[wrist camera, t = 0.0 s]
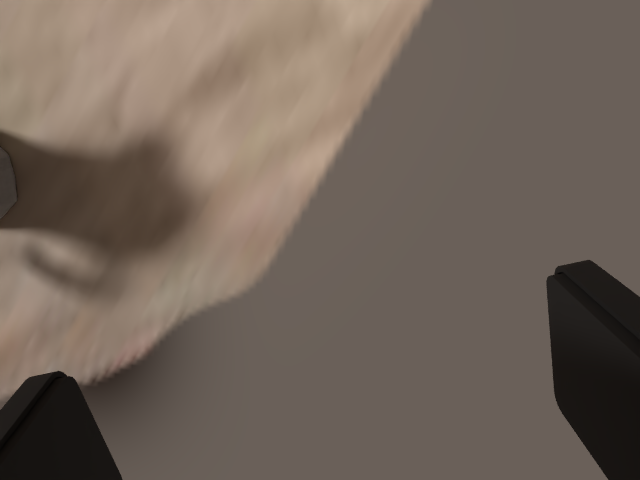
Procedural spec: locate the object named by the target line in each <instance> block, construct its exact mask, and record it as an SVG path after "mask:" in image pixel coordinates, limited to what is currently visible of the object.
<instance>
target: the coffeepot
mask: <svg viewBox="0 0 640 480" xmlns="http://www.w3.org/2000/svg"><path fill="white" fill-rule="evenodd" d="M16 201H17V192H16V179H15V174H14V171H13V167H12V165H11V162H10V157H9V155H8V154H7V153H6V152H5V151H4V150H3V149H2V148H1V147H0V219H1V218H2V217H3V216H4V215H5V214H6V213H7V212H8V210H9V209H10V208H11V207H12V206H13V205H14V203H15V202H16Z"/></svg>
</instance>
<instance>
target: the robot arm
mask: <svg viewBox="0 0 640 480" xmlns="http://www.w3.org/2000/svg"><path fill="white" fill-rule="evenodd" d="M547 298H548V312H549V326H550V339H551V353H552V366H553V381H554V392H555V398H556V401H557V404H558V406H559V409H560V410H561V412H562V414H563V415H564V417H565V418H566V419H567V421H568V422H569V424H570V425H571V427H572V428H573V429H574V431H575V432H576V434H577V435H578V437H579V438H580V440H581V441H582V442H583V444H584V445H585V447H586V448H587V450H588V451H589V452H590V454H591V455H592V457H593V458H594V460H595V461H596V462H597V464H598V465H599V467H600V468H601V470H602V471H603V473H604V474H605V475H606V477H607V478H608V480H640V297H639V296H638V295H636V294H635V293H634V292H632V291H631V290H630V289H628V288H627V287H626V286H624V285H623V284H622V283H621V282H619V281H618V280H617V279H615V278H614V277H613V276H611V275H610V274H608V273H607V272H606V271H605V270H603V269H602V268H601V267H599V266H598V265H597V264H595V263H594V262H592V261H590V260H586V261H581V262H576V263H572V264H567V265H562V266H558V267H557V268H556V270H555V275H552V276H549V277H548V278H547ZM0 480H122V477H121V474H120V473H119V470H118V468H117V466H116V464H115V462H114V460H113V458H112V456H111V454H110V451H109V449H108V447H107V445H106V443H105V441H104V439H103V437H102V435H101V432H100V431H99V428H98V426H97V424H96V422H95V420H94V418H93V415H92V413H91V411H90V409H89V407H88V405H87V403H86V401H85V399H84V396H83V394H82V392H81V390H80V388H79V386H78V384H77V382H76V380H75V379H74V378H73V377H70V376H68V377H67V375H66V374H64V373H63V372H61V371H56V372H52V373H47V374H42V375H37V376H33V377H29V378H28V379H27V380H25V382H24V383H23V384H22V385H21V386H20V387H19V389H18V390H17V391H16V392H15V393H14V395H13V396H12V397H11V398H10V399H9V400H8V402H7V403H6V404H5V405H4V407H3V408H2V409H1V410H0Z"/></svg>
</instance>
